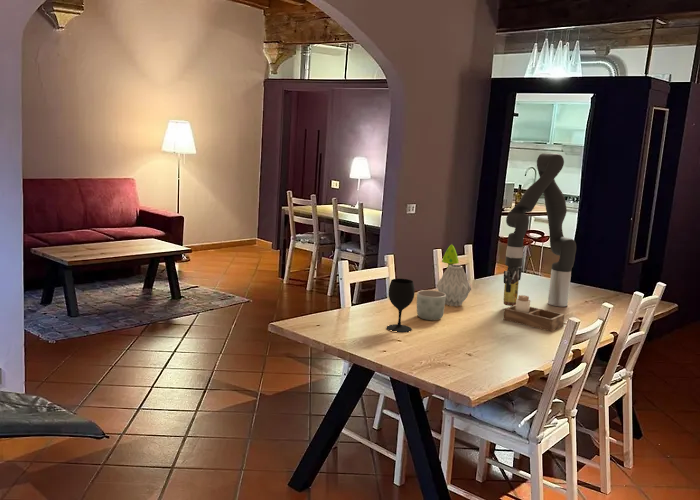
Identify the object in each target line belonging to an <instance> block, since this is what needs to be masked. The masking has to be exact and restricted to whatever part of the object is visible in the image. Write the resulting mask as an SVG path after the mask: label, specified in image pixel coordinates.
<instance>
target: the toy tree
mask: <svg viewBox="0 0 700 500" xmlns="http://www.w3.org/2000/svg"><path fill="white" fill-rule="evenodd" d="M441 262H442V263H444V264H447V268H448V267H449V265H458V264H459V257H458V254H457V251H456V248H455V246H454V245H453V244H450V245H449V246H448V248H447V249H446V251H445V252H444V255H443V257H442V260H441ZM447 268H446V269H445V271H446V270H447Z"/></svg>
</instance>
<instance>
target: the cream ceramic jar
mask: <svg viewBox="0 0 700 500" xmlns="http://www.w3.org/2000/svg"><path fill="white" fill-rule="evenodd" d="M529 298H530V297H529V295H523V294H520V295H518V297H517V299H516V308H515V311H519V312H523V313H529V310H530V307H531V300H530V299H529Z"/></svg>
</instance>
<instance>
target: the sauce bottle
mask: <svg viewBox="0 0 700 500" xmlns="http://www.w3.org/2000/svg"><path fill="white" fill-rule="evenodd" d="M514 271H516V274H515V276H514V279H513V280H512V283H511V292H506V284H505V283H504V289H503V290H504V292H503V304H504V305H505V306H507V307H510V306H513V305H516V299H518V297H519V295H518V294H519V283H520V280H519V279H518V276H517V267H515V268H514ZM510 278H512V277H510Z"/></svg>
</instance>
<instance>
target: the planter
mask: <svg viewBox="0 0 700 500" xmlns="http://www.w3.org/2000/svg"><path fill="white" fill-rule="evenodd" d="M445 299H446V294H445V293H443V292H439V291H438V290H431V289H422V290H419V291H417V292H416V314H417V316H418V317H419V318H420V319H423V320H426V321H438V320H441V319H443V316H444V313H445V308H446V307H445V305H446V304H445Z"/></svg>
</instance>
